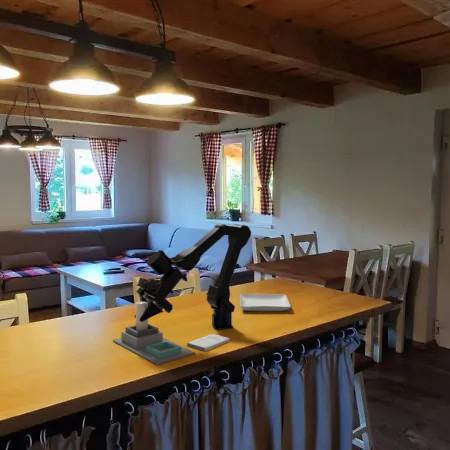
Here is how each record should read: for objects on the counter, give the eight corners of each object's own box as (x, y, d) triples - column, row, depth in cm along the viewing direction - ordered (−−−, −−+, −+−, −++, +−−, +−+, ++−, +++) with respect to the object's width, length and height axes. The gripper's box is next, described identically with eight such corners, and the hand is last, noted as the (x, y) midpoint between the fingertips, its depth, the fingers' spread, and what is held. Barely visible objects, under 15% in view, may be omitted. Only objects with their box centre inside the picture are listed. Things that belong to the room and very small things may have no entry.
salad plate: (291, 313, 193) (291, 305, 193) (239, 313, 194) (239, 305, 193) (285, 301, 214) (285, 293, 214) (239, 300, 215) (239, 293, 214)
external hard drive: (186, 347, 155) (211, 337, 164) (205, 353, 149) (229, 342, 159) (186, 342, 154) (211, 333, 164) (205, 348, 149) (229, 338, 159)
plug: (145, 329, 160) (144, 301, 160) (149, 332, 157) (149, 303, 156) (134, 331, 158) (133, 302, 157) (138, 334, 155) (138, 305, 154)
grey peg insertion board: (112, 341, 159) (112, 326, 159) (148, 332, 168) (148, 319, 168) (157, 365, 138) (157, 348, 137) (195, 353, 147) (195, 338, 147)
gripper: (141, 264, 166) (111, 299, 161) (163, 272, 150) (131, 311, 145) (161, 283, 171) (133, 318, 166) (185, 293, 155) (155, 332, 150)
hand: (137, 319), depth 156 cm, fingers closed on plug, 4 cm apart
